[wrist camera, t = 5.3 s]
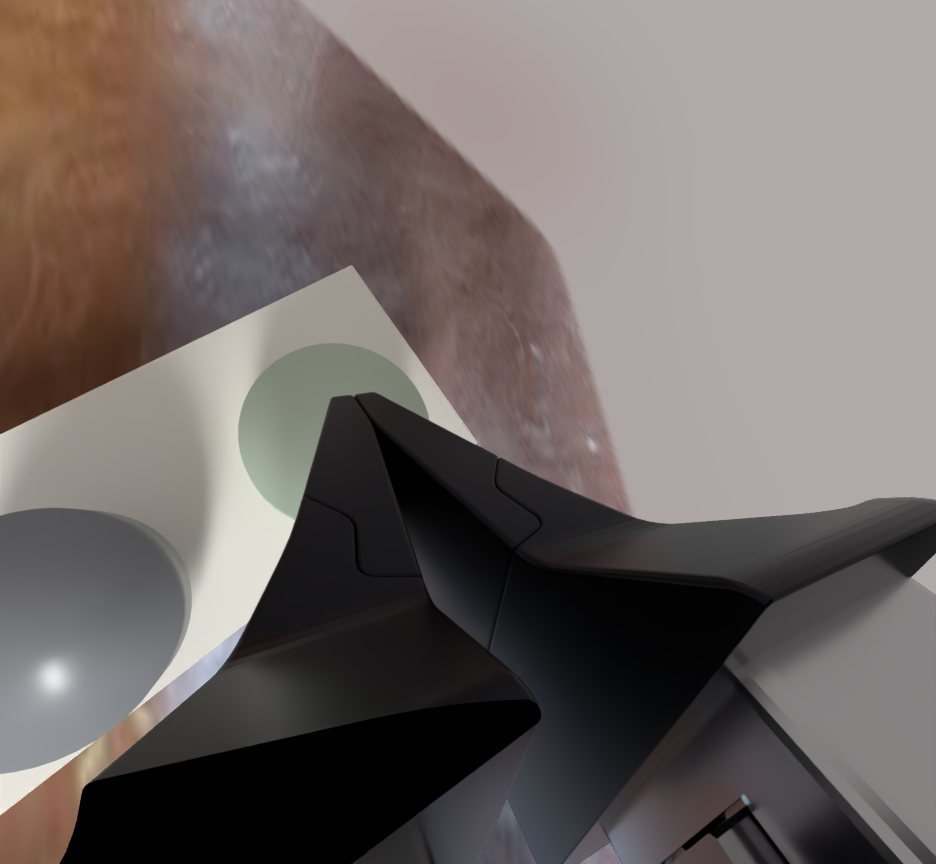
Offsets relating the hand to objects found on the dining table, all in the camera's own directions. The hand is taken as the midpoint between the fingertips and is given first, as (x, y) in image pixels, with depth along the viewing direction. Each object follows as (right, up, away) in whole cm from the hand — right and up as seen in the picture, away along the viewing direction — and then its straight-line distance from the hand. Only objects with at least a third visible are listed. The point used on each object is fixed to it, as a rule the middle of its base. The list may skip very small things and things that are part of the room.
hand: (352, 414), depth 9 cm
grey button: (-6, -4, +1) cm, 7 cm away
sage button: (-1, -1, +3) cm, 4 cm away
